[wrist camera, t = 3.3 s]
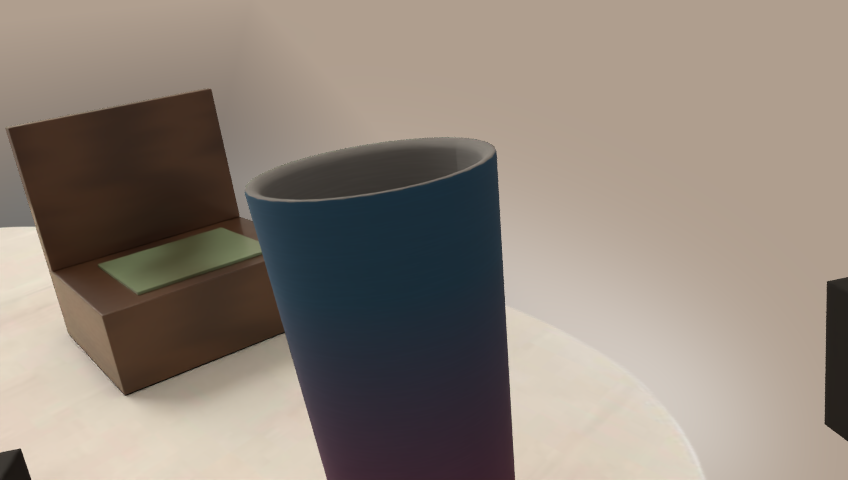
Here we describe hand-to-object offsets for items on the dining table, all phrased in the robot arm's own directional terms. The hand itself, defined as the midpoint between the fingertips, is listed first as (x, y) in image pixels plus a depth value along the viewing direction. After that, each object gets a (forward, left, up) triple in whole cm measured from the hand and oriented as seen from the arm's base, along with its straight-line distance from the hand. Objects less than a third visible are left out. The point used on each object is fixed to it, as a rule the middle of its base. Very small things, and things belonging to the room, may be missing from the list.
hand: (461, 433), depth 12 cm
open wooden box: (-8, -42, -12) cm, 44 cm away
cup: (-4, -9, -12) cm, 16 cm away
